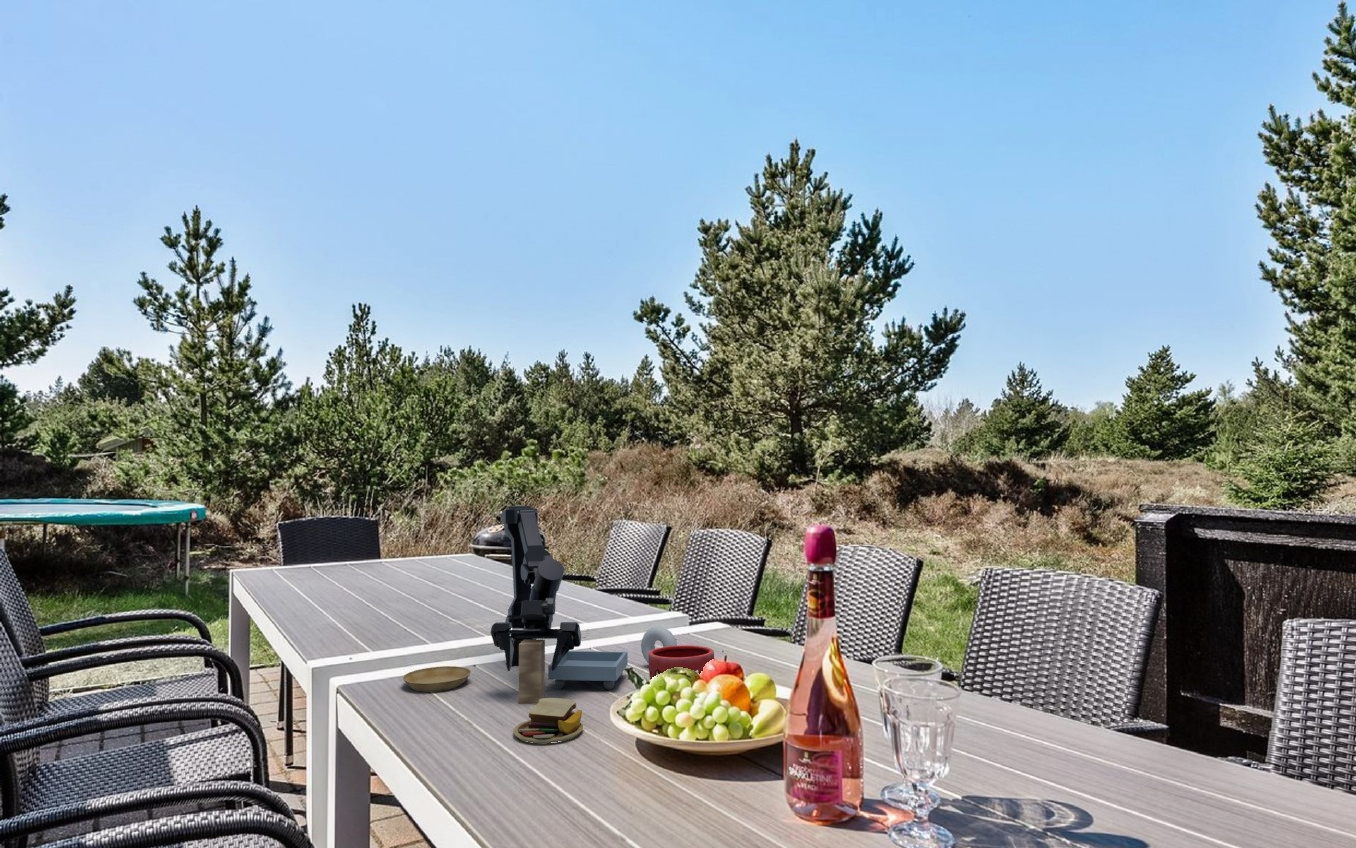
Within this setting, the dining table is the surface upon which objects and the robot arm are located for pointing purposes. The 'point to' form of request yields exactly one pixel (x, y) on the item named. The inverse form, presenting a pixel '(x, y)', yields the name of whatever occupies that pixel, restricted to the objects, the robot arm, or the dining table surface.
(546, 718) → the toy sandwich meal
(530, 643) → the block
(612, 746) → the dining table surface
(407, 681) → the plant saucer
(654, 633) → the donut
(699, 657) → the plant pot
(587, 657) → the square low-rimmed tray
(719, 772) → the dining table surface
